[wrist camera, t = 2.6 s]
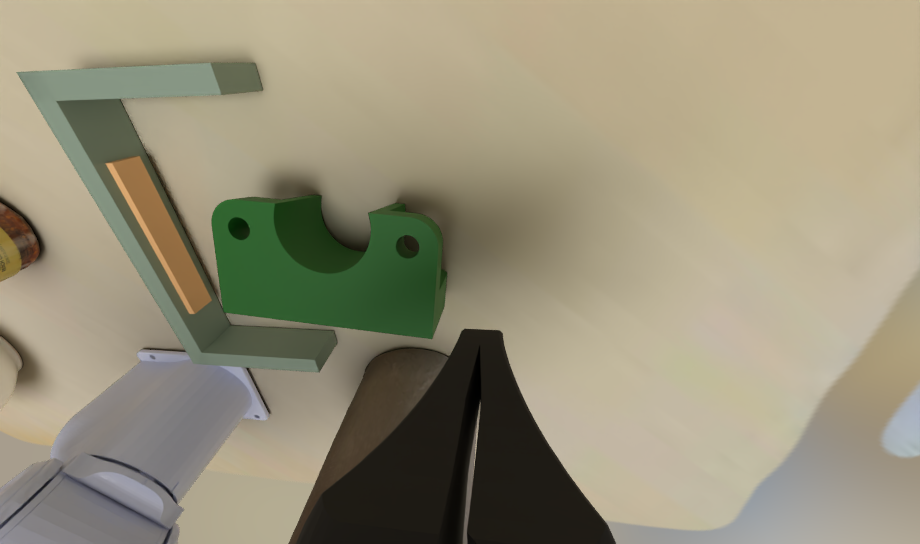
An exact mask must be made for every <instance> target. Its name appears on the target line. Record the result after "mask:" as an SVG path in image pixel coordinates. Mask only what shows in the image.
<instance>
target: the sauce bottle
mask: <svg viewBox="0 0 920 544" xmlns="http://www.w3.org/2000/svg"><path fill="white" fill-rule="evenodd" d="M39 253H40V248H39V243H38V240H37V237H36V236H35V234H34V233H33V231H32V229H31V228H30V226H29V225H28V223H27V222H26V221H25V220H24V219H23V218H22V216H20V215H19V214H17V213H16V212H14V211H13V210H11V209H10V208H8V207H7V206H5V205H4V204H2V203H1V202H0V282H1V281H3V280H5V279H7V278H9V277H12V276H14V275H15V274H17V273H18V272H19V271H20V270H22V269H24V268H26V267H28V266H29V265H30V264H31V263H33V262H34V261H36V259H37V257H38V255H39Z"/></svg>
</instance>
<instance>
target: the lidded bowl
mask: <svg viewBox="0 0 920 544" xmlns="http://www.w3.org/2000/svg"><path fill="white" fill-rule="evenodd" d="M22 366H23V362H22V359H21V357H20V355H19V353H18V352H17V351H16V349H15V348H14V347H13V346H12V345H11V344H10V343H9V342H8V341H6V340H5V339H4V338H3V337H1V336H0V411H1V410H2V409H3V408H4V406H5V405H6V404H7V402H8V401H9V400H10V398H11V396H12V394H13V392H14V389H15V386H16V382H17V371H19V370H20V369H21V368H22Z"/></svg>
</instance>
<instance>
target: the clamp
mask: <svg viewBox="0 0 920 544" xmlns="http://www.w3.org/2000/svg"><path fill="white" fill-rule="evenodd" d="M321 198H322V196H319V195H309V196H302V197H296V198H289V199H283V200H280V199H270V198H260V197H247V198H239V199H231V200H226V201H224V202H222V203H220V204H219V205H218V206H217V207H216V208H215V210H214V212H213V215H212V231H213V238H214V245H215V253H216V260H217V268H218V275H219V283H220V290H221V298H222V305H223V312H225V313H232V314H240V315H248V316H256V317H264V318H272V319H279V320H287V321H295V322H303V323H311V324H318V325H326V326H334V327H342V328H350V329H358V330H365V331H373V332H381V333H389V334H397V335H405V336H412V337H420V338H428V339H432V338H433V336H434V333H435V330H436V328H437V325H438V322H439V319H440V317H441V314H442V311H443V309H444V306H445V293H446V280H447V272H446V271H445V270H443V269H441V261H442V248H443V238H442V234H441V231H440V229H439V227H438V226H437V224H436V223H435V222H434V221H433V220H432V219H430V218H429V217H427V216H425V215H422V214H418V213H408V212H405V204H400V203H395V204H392V205H389V206H386V207H384V208H381V209H378V210H375V211H372V212H370V213H368V214H369V218H370V224H371V237H370V242H369V245H368V248H367V250H366V251H364V252H363V251H355V250H351V249H349V248H346V247H344V246H343V245H341V244H340V243H338V242H337V241H336V240H335V239H334V238H333V237H332V236H331V235H330V233H329V232H328V230H327V229H326V227H325V224H324V222H323V219H322V214H321ZM248 225H249V226H248ZM405 235H409V236H412V237H414V238H415V239H416V240H417V241H418V243H419V251H417V252H413V251H410V250H408V249H407V248H406V246H405V245H404V236H405Z"/></svg>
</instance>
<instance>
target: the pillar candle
mask: <svg viewBox="0 0 920 544" xmlns="http://www.w3.org/2000/svg"><path fill="white" fill-rule="evenodd" d="M448 358H449V357H447V356H445V355H443V354H440V353H438V352H434V351H429V350H425V349H413V348H410V349H409V348H406V349H398V350H394V351H391V352H387V353H384V354H382V355H379V356H377V357H376V358H374V359H373V360H372V361H371V362H370V363H369V364H368V366H367V367H366V369H365V373H364V375H363V379H362V381H361V383H360V385H359V387H358V389H357V392H356V394H355V396H354V398H353V400H352V402H351V404H350V406H349V408H348V410H347V412H346V415H345V417H344V419H343V422H342V424H341V426H340V428H339V430H338V433H337V435H336V437H335V439H334V441H333V443H332V446H331V448H330V451H329V453H328V455H327V457H326V460H325V462H324V464H323V467H322V469H321V471H320V473H319V476H318V478H317V480H316V483H315V485H314V488H313V490H312V492H311V494H310V496H309V499H308V501H307V503H306V505H305V508H304V510H303V512H302V515H301V517H300V519H299V521H298V524H297V526H296V528H295V530H294V532H293V535H292V537H291V539H290V542H289V544H296V542H297V540H298V537H299V535H300V533H301V530H302V528H303V526H304V524H305V522H306V520H307V518H308V516H309V515H310V513H311V511H312V509H313V507H314V506H315V504H316V502H317V501H318V499H319V497H320V496H321V494H322V493H323V492H324V491H325V490H326V489H328V488H329V487H330V486H331V485H333V484H334V483H335V482H336V481H338V480H339V479H340V478H341V477H343V476H344V475H345V474H346V473H348V472H349V471H350V470H351V469H353V468H354V467H355V466H356V465H357V464H358V463H360V462H361V461H362V460H363V459H364V458H365V457H366V456H367V455H368V454H369V453H370V452H371V451H373V450H374V449H375V448H376V447H377V446H378V445H379V444H380V443H381V442H382V441H383V440H384V439H385V438H386V437H387V436H388V435H389V434H390V433H391V432H392V431H393V430H394V429H395V428H396V427H397V426H398V425H399V424H400V423H401V421H402V420H403V419H404V418H405V417H406V416H407V415H408V414H409V412H410V411H411V410H412V409H413V408H414V407H415V405H416V404H417V403H418V402H419V400H420V399H421V398H422V397H423V395H424V394H425V393H426V391H427V390H428V388H429V387H430V386H431V384H432V383H433V381H434V380H435V378H436V377H437V376H438V374H439V373H440V371H441V369H442V368H443V366H444V364H445V363H446V361H447V360H448ZM476 427H477V422H476ZM475 443H476V428H475V434H474V440H473V446H472V452H471V458H470V465H469V472H468V483H467V495H466V508H465V520H464V533H463V544H467V526H468V518H469V510H470V502H471V493H472V485H473V470H474V459H475Z"/></svg>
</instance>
